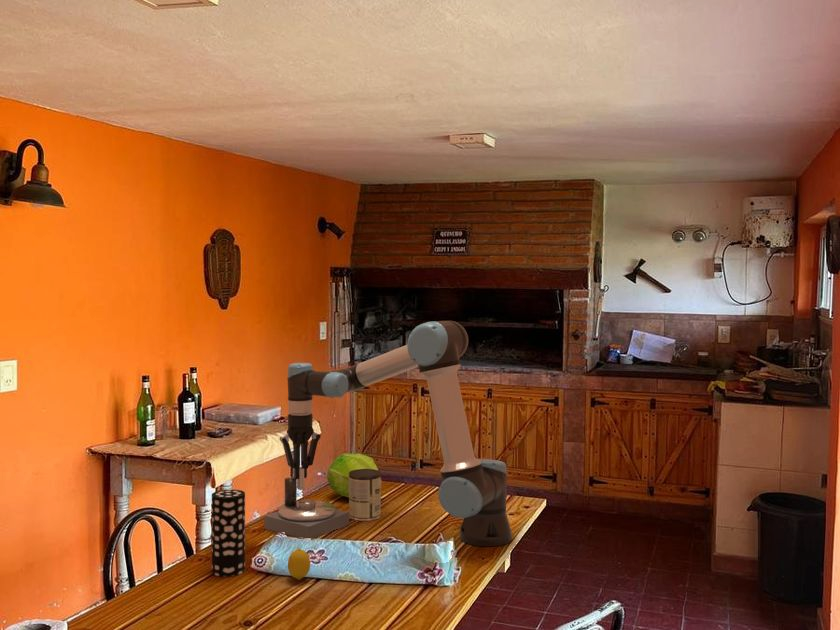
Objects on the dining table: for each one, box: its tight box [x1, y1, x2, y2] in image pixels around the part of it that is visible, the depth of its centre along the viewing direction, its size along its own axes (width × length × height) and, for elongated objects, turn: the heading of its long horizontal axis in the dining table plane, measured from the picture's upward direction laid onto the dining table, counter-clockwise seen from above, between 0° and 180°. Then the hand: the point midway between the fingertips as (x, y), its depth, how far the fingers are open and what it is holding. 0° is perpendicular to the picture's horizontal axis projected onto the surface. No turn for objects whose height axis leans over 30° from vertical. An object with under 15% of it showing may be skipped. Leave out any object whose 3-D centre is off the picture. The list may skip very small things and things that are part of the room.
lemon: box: [287, 548, 311, 581], centre depth 201 cm, size 6×6×8 cm
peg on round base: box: [278, 476, 336, 521], centre depth 243 cm, size 17×17×10 cm
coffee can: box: [348, 469, 382, 522], centre depth 255 cm, size 10×10×14 cm
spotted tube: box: [211, 489, 246, 577], centre depth 206 cm, size 8×8×20 cm
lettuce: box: [326, 452, 383, 499], centre depth 276 cm, size 17×20×15 cm
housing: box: [263, 508, 350, 539], centre depth 244 cm, size 18×18×4 cm
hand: (300, 488), depth 249 cm, fingers closed
